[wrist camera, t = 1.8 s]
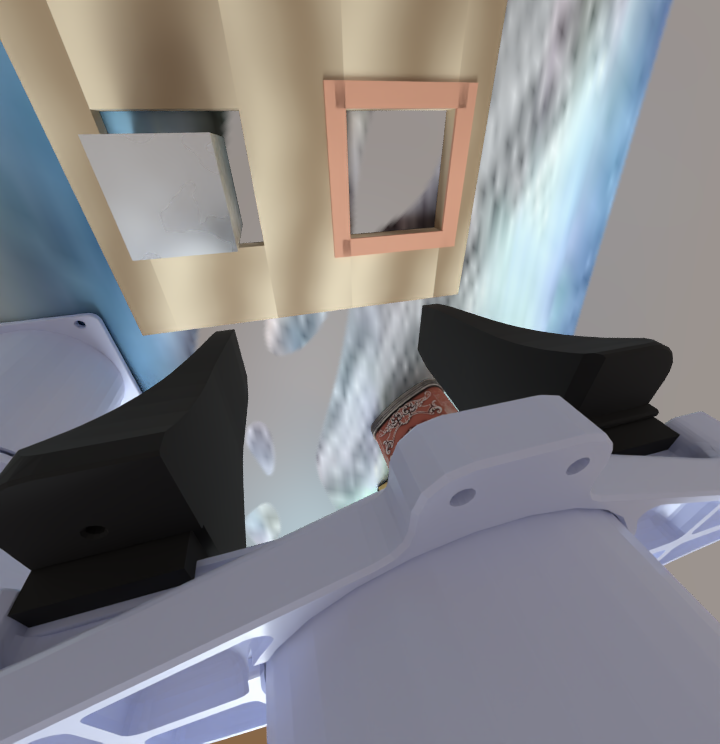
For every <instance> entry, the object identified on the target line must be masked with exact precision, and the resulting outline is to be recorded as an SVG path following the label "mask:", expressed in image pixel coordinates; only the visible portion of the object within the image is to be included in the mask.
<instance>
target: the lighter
mask: <svg viewBox="0 0 720 744" xmlns="http://www.w3.org/2000/svg"><path fill="white" fill-rule="evenodd" d="M455 412H458V411H457V410H456V408H455V407H454V406H453V404H452V403H451V402H450V400H449V399H448V398H447V397H446V395H445V394H444V390H443V388H442V387H441V386H440V384H439V383H438V382H437V381H436V380H434V379H426V380H424V381H422V382H420V383H419V384H417V385H416V386H414V387H412V388H411V389H409V390H408V391H407V392H405V393H404V394H403V395H401V396H400V397H399V398H398V399H396V400H395V401H394V402H393V403H392V404H391V405H390V406H389V407H388V408H387V409H386V410H385V411H384V412H382V414H381V415H380V416H379V417H378V418H377V419H376V421H375V422H374V423H373V424H372V426H371V432H372V434H373V437H374V439H375V440H376V441H377V442H378V444H379V446H380V449H381V451H382V454H383V456H384V458H385V461H386V463H387V466H388V468H389V462H390V459H391V457H392V455H393V452H394V450H395V447H396V445H397V443H398V442H399V440H400V439H402V438H403V437H404V436H405V435H406V434H407V433H408V432H409V431H411V430H412V429H413V428H414V427H415V426H416V425H418V424H420V423H423V422H425V421H428V420H430V419H433V418H435V417H438V416H441V415H446V414H450V413H455Z"/></svg>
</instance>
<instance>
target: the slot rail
mask: <svg viewBox="0 0 720 744" xmlns="http://www.w3.org/2000/svg"><path fill="white" fill-rule="evenodd" d="M506 5H507V0H0V40H1V42H2V44H3V46H4V48H5V50H6V52H7V54H8V56H9V58H10V60H11V62H12V64H13V67H14V69H15V71H16V73H17V75H18V77H19V79H20V81H21V83H22V85H23V87H24V89H25V92H26V94H27V96H28V98H29V100H30V102H31V104H32V106H33V108H34V110H35V112H36V114H37V116H38V119H39V121H40V123H41V125H42V127H43V129H44V131H45V133H46V135H47V137H48V139H49V141H50V143H51V146H52V148H53V150H54V152H55V154H56V156H57V158H58V160H59V162H60V164H61V166H62V168H63V171H64V173H65V175H66V177H67V179H68V181H69V183H70V185H71V187H72V189H73V191H74V193H75V195H76V198H77V200H78V202H79V204H80V206H81V208H82V210H83V212H84V214H85V216H86V218H87V220H88V223H89V225H90V227H91V229H92V231H93V233H94V235H95V237H96V239H97V241H98V243H99V245H100V247H101V250H102V252H103V254H104V256H105V258H106V260H107V262H108V264H109V266H110V268H111V270H112V272H113V275H114V277H115V279H116V281H117V283H118V285H119V287H120V289H121V291H122V293H123V295H124V297H125V299H126V302H127V304H128V306H129V308H130V310H131V312H132V314H133V316H134V318H135V320H136V322H137V324H138V327H139V329H140V331H141V333H142V335H143V336H144V335H151V334H159V333H167V332H174V331H182V330H189V329H197V328H204V327H212V326H220V325H227V324H235V323H242V322H250V321H258V320H265V319H273V318H280V317H288V316H296V315H303V314H311V313H318V312H326V311H333V310H340V309H349V308H356V307H364V306H372V305H379V304H387V303H394V302H402V301H409V300H417V299H425V298H432V297H440V296H447V295H455V294H458V291H459V285H460V279H461V273H462V267H463V261H464V255H465V249H466V243H467V237H468V231H469V226H470V220H471V214H472V208H473V202H474V196H475V190H476V184H477V178H478V172H479V166H480V160H481V154H482V148H483V142H484V136H485V130H486V124H487V118H488V112H489V106H490V101H491V95H492V89H493V83H494V77H495V71H496V65H497V59H498V53H499V47H500V41H501V35H502V29H503V23H504V17H505V11H506ZM373 110H447V112H446V122H445V130H444V140H443V149H442V158H441V168H440V177H439V186H438V195H437V205H436V214H435V223H434V227H433V228H421V229H409V230H397V231H385V232H373V233H361V234H350V210H349V182H348V154H347V127H346V111H373ZM99 111H239V114H240V118H241V124H242V129H243V135H244V140H245V146H246V151H247V156H248V161H249V167H250V172H251V177H252V183H253V188H254V193H255V198H256V204H257V208H258V214H259V220H260V225H261V230H262V235H263V241H264V242H254V243H242V244H239V248H238V252H227V253H216V254H205V255H193V256H182V257H171V258H159V259H148V260H137V261H132V258H131V256H130V254H129V251H128V249H127V247H126V244H125V242H124V240H123V237H122V235H121V233H120V231H119V228H118V226H117V224H116V221H115V219H114V217H113V214H112V212H111V210H110V208H109V205H108V203H107V201H106V198H105V196H104V194H103V191H102V189H101V187H100V184H99V182H98V180H97V178H96V175H95V173H94V171H93V168H92V166H91V164H90V161H89V159H88V157H87V155H86V152H85V150H84V148H83V145H82V143H81V141H80V138H79V136H78V134H108V133H107V130H106V128H105V125H104V123H103V120H102V118H101V115H100V112H99Z"/></svg>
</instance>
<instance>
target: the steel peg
mask: <svg viewBox="0 0 720 744" xmlns="http://www.w3.org/2000/svg"><path fill="white" fill-rule="evenodd" d="M78 136H79V138H80V141H81V143H82V145H83V148H84V150H85V152H86V155H87V157H88V159H89V161H90V164H91V166H92V168H93V171H94V173H95V175H96V178H97V180H98V182H99V184H100V187H101V189H102V191H103V194H104V196H105V198H106V201H107V203H108V205H109V208H110V210H111V212H112V214H113V217H114V219H115V221H116V224H117V226H118V228H119V231H120V233H121V235H122V237H123V240H124V242H125V244H126V247H127V249H128V251H129V254H130V256H131V258H132V261H137V260H148V259H159V258H171V257H182V256H193V255H205V254H216V253H227V252H238V248H239V242H240V237H241V231H242V220H241V215H240V211H239V206H238V202H237V197H236V192H235V187H234V183H233V178H232V174H231V169H230V165H229V160H228V156H227V151H226V146H225V142H224V137H222V136H219V135H216V134H213V133H210V132H202V133H139V134H78Z"/></svg>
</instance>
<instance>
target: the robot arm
mask: <svg viewBox="0 0 720 744" xmlns="http://www.w3.org/2000/svg"><path fill="white" fill-rule="evenodd" d="M77 320H79V321H82V322H84V323H85V325H86V326H82V325H80V324H79V323H78V322H77ZM418 351H419V353H420V355H421V357H422V359H423V361H424V363H425V365H426V367H427V368H428V370H429V371H430V372H431V374H432V375H433V376H434V378H435V379H436V380H437V382H438V383H439V384H440V386H441V387H442V388H443V390H444V391H445V392H446V394H447V395H448V396H449V397H450V399H451V400H452V401H453V403H454V404H455V405H456V407H457V408H458V410H459V411H460V412H455V413H450V414H446V415H441V416H438V417H435V418H433V419H430V420H428V421H425V422H423V423H420V424H418V425H416V426H415V427H414V428H413V429H412V430H411V431H409V432H408V433H407V434H406V435H405V436H404V437H403V438H402V439H400V440H399V442H398V443H397V445H396V447H395V450H394V452H393V455H392V457H391V459H390V462H389V475H388V482H387V486H386V487H385V488H384V489H382V490H380V491H378V492H376V493H373V494H371V495H369V496H367V497H365V498H363V499H361V500H359V501H357V502H355V503H352V504H350V505H348V506H346V507H344V508H342V509H340V510H338V511H336V512H334V513H331V514H330V515H327V516H325V517H323V518H321V519H319V520H317V521H315V522H312V523H310V524H308V525H306V526H304V527H302V528H300V529H298V530H296V531H294V532H291V533H289V534H287V535H285V536H283V537H281V538H279V539H277V540H273V541H269V542H266V543H262V544H258V545H254V546H251V547H247V548H246V534H245V515H244V490H243V445H244V436H245V425H246V416H247V406H248V385H247V374H246V371H245V367H244V363H243V360H242V357H241V352H240V349H239V345H238V341H237V337H236V334H235V330H234V329H233V330H225V331H217V332H215V333H214V334H213V335H212V336H211V337H210V338H209V339H208V340H207V341H206V342H205V343H204V344H203V345H202V346H201V347H200V348H199V349H198V350H197V351H195V352H194V353H193V354H192V355H191V356H190V357H189V358H188V359H187V360H186V361H185V362H184V363H182V364H181V365H180V366H179V367H178V368H177V369H175V370H174V371H173V372H172V373H171V374H169V375H168V376H167V377H165V378H164V379H163V380H161V381H160V382H159V383H157V384H156V385H154V386H153V387H151V388H150V389H148V390H147V391H145V392H144V393H142V392H141V390H140V388H139V386H138V385H137V383H136V381H135V379H134V377H133V375H132V374H131V372H130V370H129V368H128V366H127V365H126V363H125V361H124V359H123V357H122V355H121V354H120V352H119V350H118V348H117V346H116V345H115V343H114V341H113V339H112V337H111V335H110V334H109V332H108V330H107V328H106V326H105V324H104V323H103V321H102V319H101V318H100V317H99V316H98V315H96V314H93V313H83V314H75V315H66V316H57V317H49V318H40V319H31V320H23V321H14V322H5V323H0V744H210V743H213V742H216V741H220V740H223V739H226V738H229V737H232V736H236V735H239V734H242V733H245V732H248V731H252V730H255V729H259V728H262V727H265V726H267V744H720V623H719V622H718V621H717V620H716V619H715V618H714V617H713V616H712V615H711V614H710V613H709V612H708V611H707V610H706V609H705V608H704V607H703V606H702V605H701V604H700V603H699V602H698V601H697V599H695V598H694V596H693V595H692V594H691V593H690V592H689V591H688V590H687V589H686V588H685V587H684V586H683V585H682V584H681V583H680V582H679V581H678V580H677V579H676V578H675V577H674V576H673V575H672V574H671V573H670V572H669V571H668V570H667V569H666V568H665V567H664V566H663V565H665V564H667V563H669V562H672V561H674V560H676V559H678V558H680V557H683V556H685V555H687V554H689V553H691V552H693V551H696V550H698V549H700V548H703V547H705V546H707V545H710V544H712V543H714V542H717V541H719V540H720V421H718V420H716V419H715V418H713V417H711V416H710V415H708V414H706V413H704V412H695V413H691V414H687V415H684V416H679V417H675V418H673V419H671V420H669V421H668V422H666V423H665V424H663V423H662V422H660V421H659V420H657V419H656V418H654V416H657V415H658V413H659V412H658V410H657V409H656V408H655V407H653V406H651V405H650V404H648V403H649V402H650V400H651V399H652V397H653V396H654V395H655V393H656V391H657V390H658V389H659V387H660V386H661V384H662V383H663V381H664V380H665V378H666V376H667V375H668V373H669V372H670V369H671V366H672V363H673V356H672V351H671V350H670V348H669V347H667V346H665V345H662V344H661V343H659V342H657V341H655V340H652V339H646V338H598V337H583V336H572V335H562V334H555V333H547V332H541V331H535V330H530V329H525V328H521V327H516V326H512V325H508V324H504V323H501V322H497V321H493V320H490V319H487V318H484V317H481V316H477V315H474V314H471V313H468V312H465V311H462V310H459V309H456V308H453V307H449V306H446V305H441V304H431V305H423V307H422V315H421V324H420V333H419V342H418Z"/></svg>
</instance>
